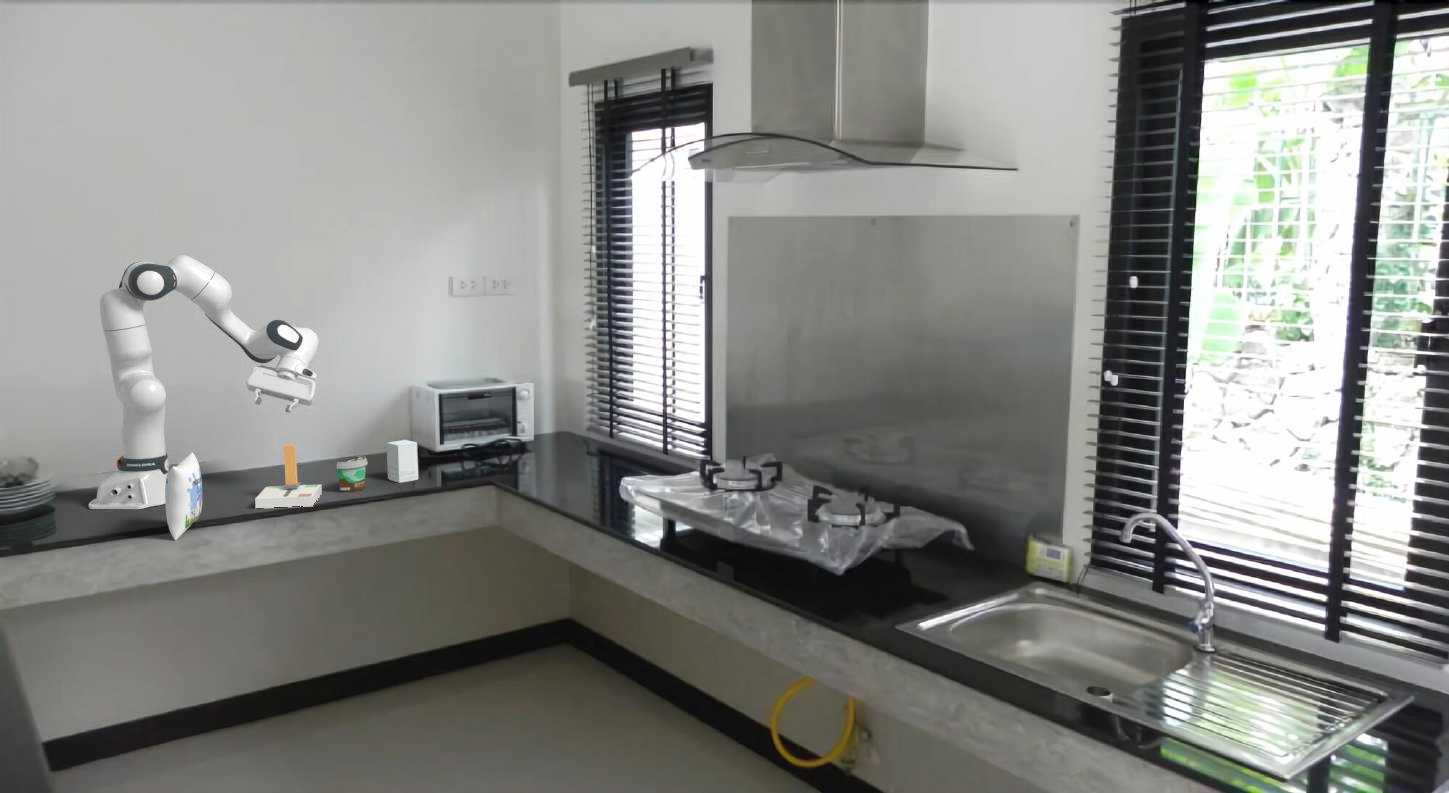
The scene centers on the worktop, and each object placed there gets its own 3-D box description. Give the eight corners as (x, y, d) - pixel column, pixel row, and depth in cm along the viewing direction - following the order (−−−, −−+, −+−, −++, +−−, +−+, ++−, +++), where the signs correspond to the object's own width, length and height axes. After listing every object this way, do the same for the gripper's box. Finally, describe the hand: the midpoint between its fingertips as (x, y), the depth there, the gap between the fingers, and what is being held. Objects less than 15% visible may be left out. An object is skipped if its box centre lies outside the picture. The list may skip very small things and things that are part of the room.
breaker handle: (283, 488, 322) (281, 446, 320) (286, 485, 327) (284, 443, 325) (297, 488, 323) (295, 446, 321) (300, 484, 328) (298, 443, 326)
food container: (355, 494, 330) (354, 463, 328) (337, 493, 331) (336, 462, 329) (376, 485, 342) (375, 455, 340) (358, 484, 343) (357, 454, 341)
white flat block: (255, 508, 312) (255, 498, 311) (267, 495, 327) (266, 486, 327) (313, 506, 315) (312, 496, 314) (321, 493, 330) (321, 484, 330)
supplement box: (419, 479, 351) (417, 442, 349) (398, 483, 345) (397, 445, 344) (407, 476, 356) (406, 439, 354) (387, 479, 350) (385, 442, 348)
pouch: (157, 541, 278) (152, 466, 275) (182, 522, 296) (178, 452, 293) (190, 540, 279) (185, 466, 276) (213, 521, 298) (208, 451, 295)
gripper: (255, 357, 329) (236, 392, 321) (321, 375, 331) (304, 410, 323) (257, 369, 334) (239, 404, 325) (322, 386, 336) (305, 421, 328)
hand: (272, 407), depth 324 cm, fingers open, 8 cm apart
